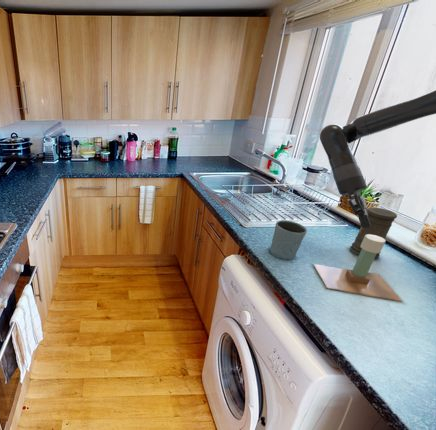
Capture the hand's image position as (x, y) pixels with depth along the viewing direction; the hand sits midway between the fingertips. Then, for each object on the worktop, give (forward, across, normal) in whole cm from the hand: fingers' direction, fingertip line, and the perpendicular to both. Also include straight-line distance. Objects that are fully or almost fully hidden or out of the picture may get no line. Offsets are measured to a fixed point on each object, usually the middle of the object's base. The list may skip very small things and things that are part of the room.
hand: (366, 227), depth 94 cm
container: (+8, +24, +7) cm, 26 cm away
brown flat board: (+17, -1, +8) cm, 19 cm away
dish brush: (+16, 0, +8) cm, 18 cm away
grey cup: (+4, -3, +27) cm, 27 cm away
